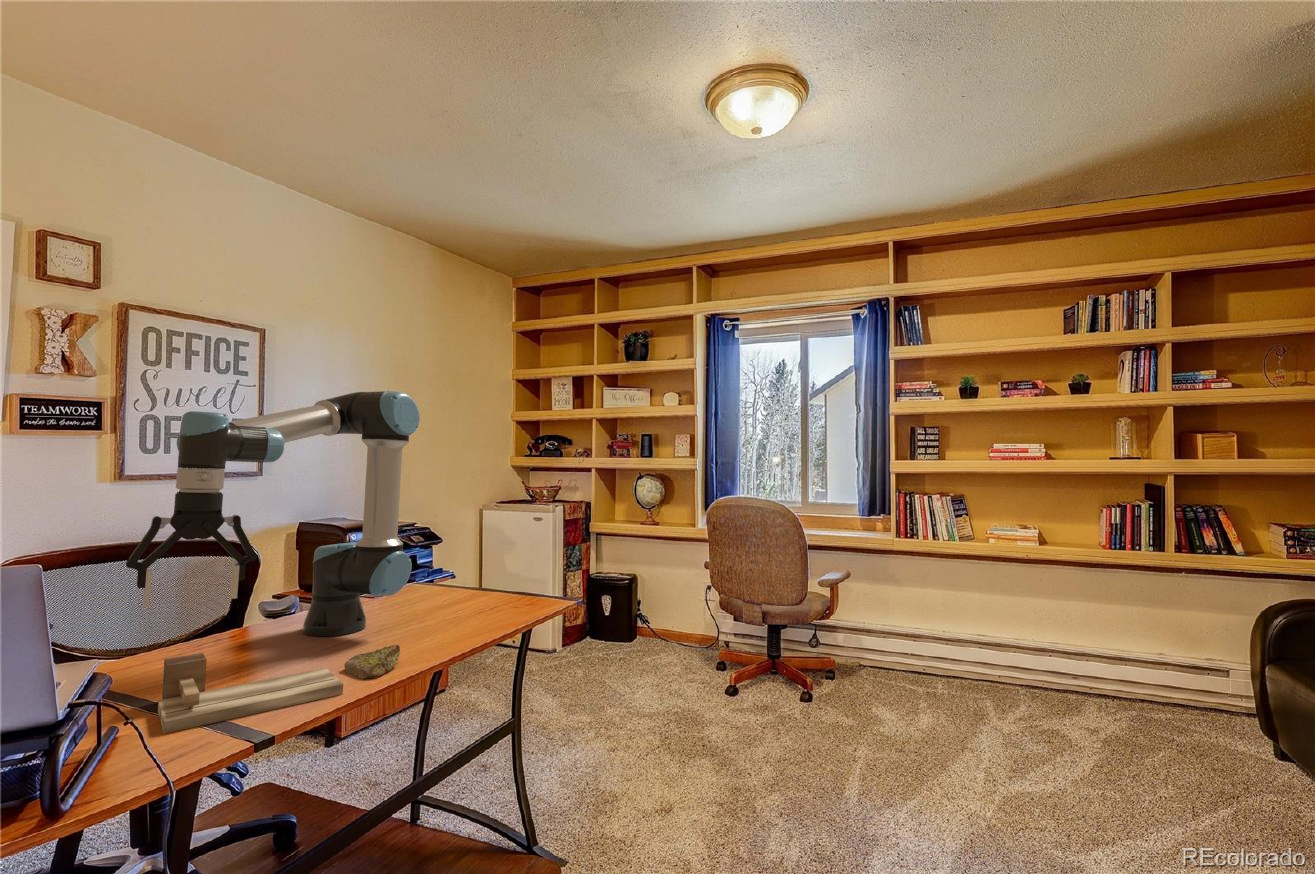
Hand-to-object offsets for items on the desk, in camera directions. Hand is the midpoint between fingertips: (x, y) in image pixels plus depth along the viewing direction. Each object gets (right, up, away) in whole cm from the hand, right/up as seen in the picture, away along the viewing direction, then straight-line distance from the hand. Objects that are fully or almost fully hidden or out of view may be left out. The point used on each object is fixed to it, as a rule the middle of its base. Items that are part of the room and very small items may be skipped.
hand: (191, 601), depth 119 cm
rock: (+26, -21, +18) cm, 38 cm away
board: (+13, -19, -1) cm, 23 cm away
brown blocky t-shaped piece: (+3, -19, -5) cm, 20 cm away
